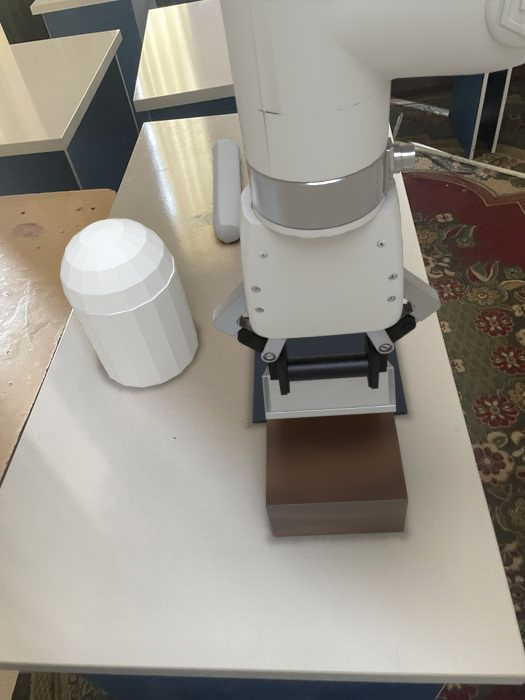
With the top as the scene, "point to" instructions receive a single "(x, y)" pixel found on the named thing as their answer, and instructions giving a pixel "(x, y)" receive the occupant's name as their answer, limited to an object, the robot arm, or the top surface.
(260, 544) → the top surface
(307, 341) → the mat
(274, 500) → the stand
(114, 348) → the container
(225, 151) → the tube
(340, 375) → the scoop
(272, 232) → the robot arm
